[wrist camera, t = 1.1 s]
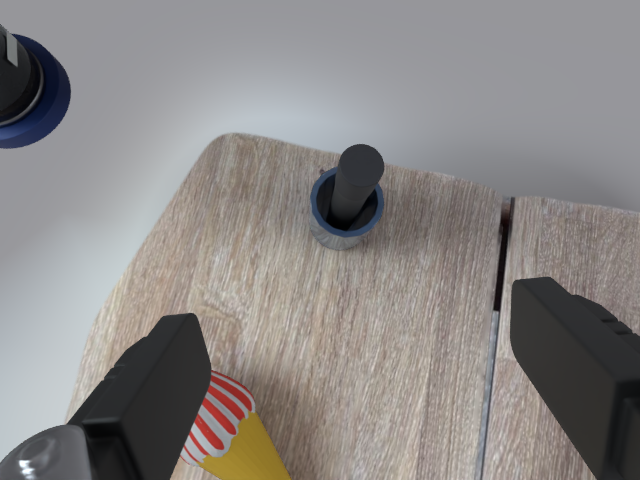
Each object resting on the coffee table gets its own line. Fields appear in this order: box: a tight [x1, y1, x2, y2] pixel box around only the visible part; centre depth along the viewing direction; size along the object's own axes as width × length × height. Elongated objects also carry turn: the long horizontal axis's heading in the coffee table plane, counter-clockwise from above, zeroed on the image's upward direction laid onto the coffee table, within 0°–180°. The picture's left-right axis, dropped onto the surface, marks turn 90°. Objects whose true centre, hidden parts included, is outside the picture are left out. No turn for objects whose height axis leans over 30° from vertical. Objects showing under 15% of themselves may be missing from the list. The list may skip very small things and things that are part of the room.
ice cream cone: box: [180, 370, 292, 480], centre depth 31 cm, size 6×6×20 cm
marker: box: [327, 144, 384, 231], centre depth 29 cm, size 3×3×14 cm
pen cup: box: [309, 167, 384, 250], centre depth 33 cm, size 6×6×7 cm
